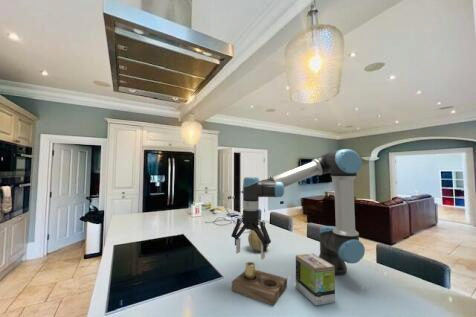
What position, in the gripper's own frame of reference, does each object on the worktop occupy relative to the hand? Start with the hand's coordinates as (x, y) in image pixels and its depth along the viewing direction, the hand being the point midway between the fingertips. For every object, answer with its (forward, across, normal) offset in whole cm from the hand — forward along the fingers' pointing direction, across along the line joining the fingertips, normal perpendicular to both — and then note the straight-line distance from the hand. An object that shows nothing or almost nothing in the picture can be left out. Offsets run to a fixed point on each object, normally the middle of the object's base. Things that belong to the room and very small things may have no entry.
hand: (250, 255), depth 101 cm
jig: (+14, +5, 0) cm, 15 cm away
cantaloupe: (+14, -16, +43) cm, 48 cm away
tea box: (+14, +27, +9) cm, 32 cm away
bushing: (+14, 0, 0) cm, 14 cm away
